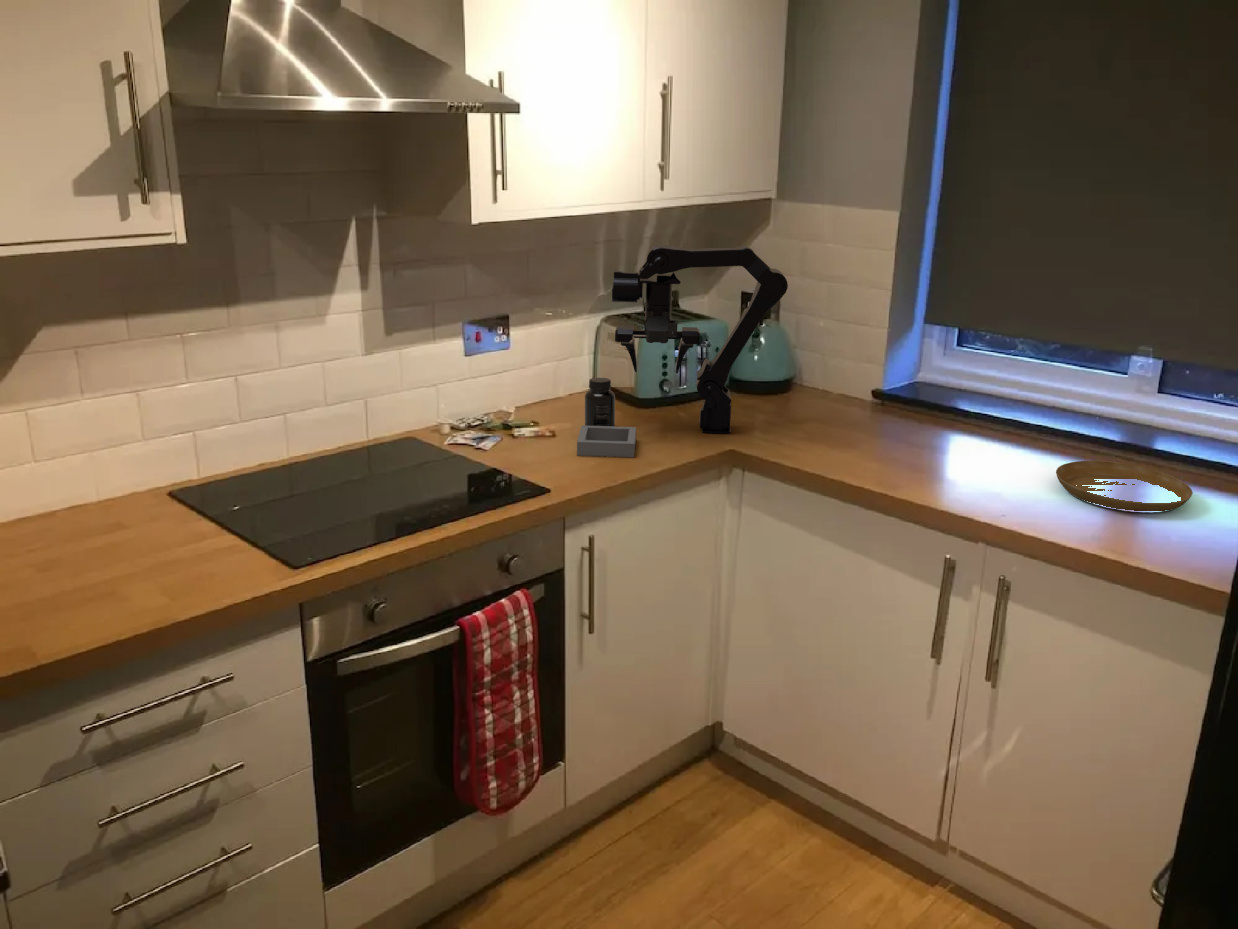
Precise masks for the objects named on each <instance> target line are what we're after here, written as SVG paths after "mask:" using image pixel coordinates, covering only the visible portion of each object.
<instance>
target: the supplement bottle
mask: <svg viewBox="0 0 1238 929" xmlns="http://www.w3.org/2000/svg"><path fill="white" fill-rule="evenodd" d="M588 383H589V384H588V389H589V390H588V391H586V393H585V394H584V426H614V427H616V394H615V392H613V391H612V390H611V388H612V385H611V384H612V381H611V379H610V378H609V377H608V378H607V377H593V378H590V379H589V382H588Z"/></svg>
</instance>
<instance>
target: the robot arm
mask: <svg viewBox="0 0 1238 929" xmlns="http://www.w3.org/2000/svg"><path fill="white" fill-rule="evenodd" d="M716 267H717V268H718V267H720V268H721V267H742V268H743V269H745V270H746V271H747V272H748V273H749V275H750V276H752V277H753V278H754V279H755V281H757V282H756V285H755V287H754V289H753V290H754V291H753V293H752V296H751V298H750V302H749V303H748V306H747V307H746V308H745V310H744V312H743V314H742V315H741V316H740V318H739V319H738V321H737V323H736V324H735V326H734V328H733V330H732V331H731V333H730V334H729V336H728V338H726V340H725V343H724V344H723V345H722V347H721V348H720V350H719V352H718V353H717V354H716V356H714V358H713V359H711V360H709V359H708V358H706V357H705V358H704V361H703V363H702V365H701V367H700V368H699V369H698V370H697V371H696V374H695V375H696V378H695V380H696V381H695V382H696V391H697V393H698V395H699V396H700V397H701V398H702V402H703V403H702V407H700V408H699V428H700V429H701V432H702V433H706V434H731V433H732V430H731V415H732V396H731V392H730V389H728V388H727V386H726V383H727V382H728V381H727V380H728V378H729V375H730V371H731V369H732V367H733V365H734V363H735V362H736V360H737V358H738V357H739V355H740V354H741V352H742V351H743V349H744V347H745V346H746V344H747V343H748V341H749V340H750V337H751V336H752V335H753V333H754V331H755V330H756V329H757V327H758V326H759V324H760V322H761V321H762V319H763V318H764V316H765V315H766V313H767V312H769V311H770V310H771V309H772V308H773V307H775V305H777V303H778V302H780V300H781V299H782V298H783V296H785V294H786V293H787V290H788V287H789V286H788V280H787V279H786V277H785V275H784V273H783V272H782V271H780V270H779V269H777V268H771V267H770V266H769V265H768V264H767V263H765V261H764V260H763V259H761V257H759V256H758V255H757V254H756V253H755V251H754V250H753V248H751V247H749V246H747V245H746V246H745V245H744V246H741V247H718V248H717V247H715V248H714V247H713V248H685V247H679V246H676V245H671V244H670V245H669V244H663V243H661V244H659V243H658V244H655V245H653V246H652V247H651V248H650V249H649V250H648V252H647V256H646V261H645V262H644V263H643V265H642V266H641V267H640V268H639V270H638V271H622V270H614V272H613V283H612V288H611V301H612V303H625V304H627V303H628V304H629V303H632V304H635V303H636V304H638V302H639V301H640V299H643V297H644V296H643V295H644V293H643V292H644V284H645V308H644V310H645V313H644V314H645V315H644V316H645V317H644V327H643V328H644V329H634V325H630V324H629V325H627V324H626V325H625V324H623V325H622V324H618V325H617V326H616V328H615V331H614V342H615V343H620V346H622V347H625V348H626V350H627V352H628V354H629V356H630V360H631V363H632V367H633V370H634V372H635V373H637V371H638V358H637V353H636V352H637V350H636V348H637V347H636V339H645V341H646V343H648V344H653V343H659V344H667V343H668V342H669V340H679V346H678V352H677V356H676V357H677V358H676V364H675V374H679V370H680V368H681V366H682V363H683V360H684V357H685V355H686V353H687V352H688V350H689V349H690V348H691V349H693V348H694V346H695V345H700V342H701V339H700V338H701V330H700V329H699V328H698V327H693V326H692V327H691V326H682V327H681V330H678V325H679V324H678V323H679V321H678V320H675V319H673V320H672V301H673V300H672V299H673V296H672V295H673V285H680V284H681V283H682V282H681V281H682V280H681V278H679V276H678V275H677V274H676V273H675V272H677V271H681V270H684V269H688V268H689V269H690V268H716ZM669 273H670V274H669ZM666 274H669V275H666ZM654 275H656V278H652V277H653V276H654Z"/></svg>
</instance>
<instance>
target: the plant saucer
mask: <svg viewBox="0 0 1238 929" xmlns="http://www.w3.org/2000/svg"><path fill="white" fill-rule="evenodd" d="M1055 474H1056V477H1057V480H1058V481H1059V483H1060V484H1061V486H1062V487H1063V488H1064V489H1065V491H1067V492H1068V493H1069V494H1070V493H1071V494H1070V495H1072V496H1073V495H1074V496H1073V497H1075V496H1076V497H1078V498H1080V499H1083V500H1085V501H1088V502H1091V503H1095V504H1099V505H1103V506H1106V507H1111V508H1116V509H1125V510H1134V511H1165V510H1170V511H1172V510H1171V509H1173V510H1175V509H1177V508H1179V507H1181V506H1183V505H1184V504H1185V503H1187V502H1188V501H1189V500H1190V499H1191V497H1193V494H1194V493H1193V492H1194V491H1193V490H1192V488H1191V487H1190V486H1189V485H1188V484H1187V483H1185V482H1184V481H1182V480H1180V479H1178V478H1177V477H1175V476H1172V475H1170V474H1167V473H1165V472H1162V471H1159V470H1155V469H1152V468H1149V467H1148V468H1147V467H1144V466H1140V465H1135V464H1129V463H1124V462H1123V463H1122V462H1115V461H1110V460H1109V461H1107V460H1106V461H1105V460H1079V461H1071V462H1067V463H1063V464H1062V465H1059V466H1058V467H1057V468H1056V471H1055ZM1094 479H1137V480H1141V481H1144V482H1148V483H1150V484H1152V485H1159V486H1160V487H1163V488H1165V489H1167V490H1168V491H1172V492H1174V493H1175V494H1176V495H1177V496H1178V497H1181V501H1177V502H1171V503H1142V502H1133V501H1125V500H1119V499H1114V498H1109V497H1104V496H1106V495H1104V496H1101V495H1097V494H1093V493H1090V492H1087V491H1103V490H1104V491H1105V489H1097V490H1095V489H1096V488H1088V487H1090V486H1082V485H1113V484H1115V483H1116V484H1115V485H1127V484H1125V483H1122V484H1118V483H1119V482H1117V481H1116V482H1110V483H1106V482H1108V481H1103V482H1095V481H1097V480H1094ZM1098 481H1099V480H1098ZM1102 483H1104V484H1102ZM1105 483H1106V484H1105ZM1076 485H1077V486H1076ZM1132 485H1135V484H1132ZM1091 487H1092V486H1091ZM1108 491H1109V490H1108ZM1110 491H1112V490H1110ZM1076 497H1075V498H1076ZM1078 498H1077V499H1078ZM1080 499H1079V500H1080ZM1083 500H1082V501H1083ZM1085 501H1084V502H1085Z"/></svg>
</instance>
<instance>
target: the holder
mask: <svg viewBox="0 0 1238 929" xmlns="http://www.w3.org/2000/svg"><path fill="white" fill-rule="evenodd" d="M636 443H637V427H636V426H615V427H614V426H585V425H581V427H580V430H579V434H578V438H577V442H576V456H579V457H581V456H582V457H584V456H585V457H604V456H606V458H607V457H608V458H610V457H611V458H635V452H636ZM614 456H615V457H614Z"/></svg>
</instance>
